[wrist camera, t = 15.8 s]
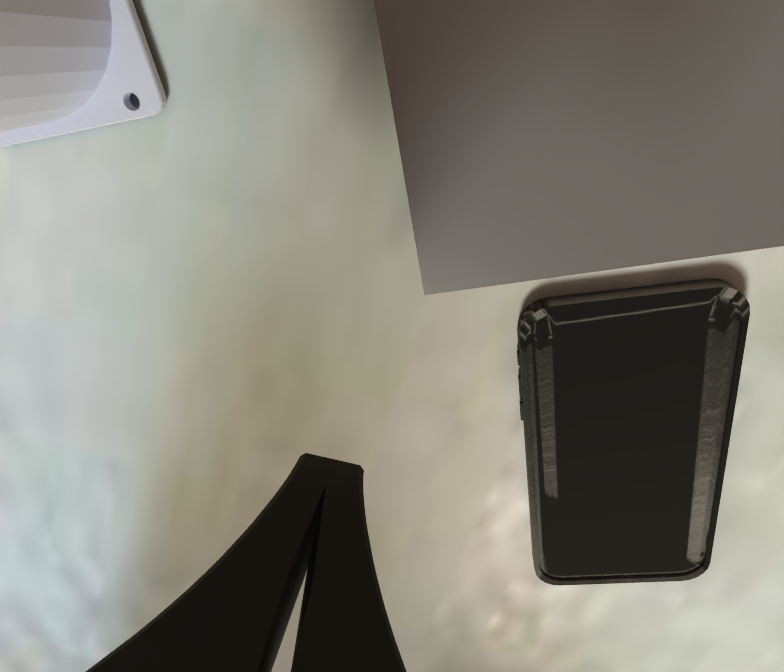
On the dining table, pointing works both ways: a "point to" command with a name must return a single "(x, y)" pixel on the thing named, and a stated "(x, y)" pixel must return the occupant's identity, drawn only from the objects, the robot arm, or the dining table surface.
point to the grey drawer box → (585, 132)
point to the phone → (628, 428)
